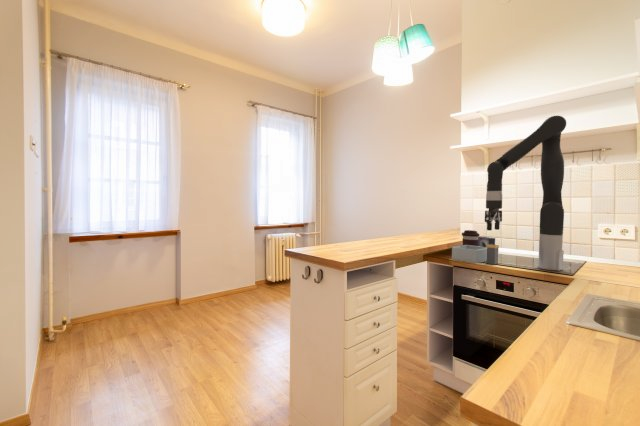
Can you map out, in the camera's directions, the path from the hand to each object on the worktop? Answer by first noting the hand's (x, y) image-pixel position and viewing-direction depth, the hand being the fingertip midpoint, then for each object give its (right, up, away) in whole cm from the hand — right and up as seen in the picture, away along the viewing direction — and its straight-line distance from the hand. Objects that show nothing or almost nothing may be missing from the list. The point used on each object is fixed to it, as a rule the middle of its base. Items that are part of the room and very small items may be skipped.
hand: (493, 229), depth 161 cm
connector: (0, -18, 0) cm, 18 cm away
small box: (+13, -17, +32) cm, 38 cm away
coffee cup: (+1, -17, +27) cm, 32 cm away
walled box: (-7, -18, +11) cm, 22 cm away
